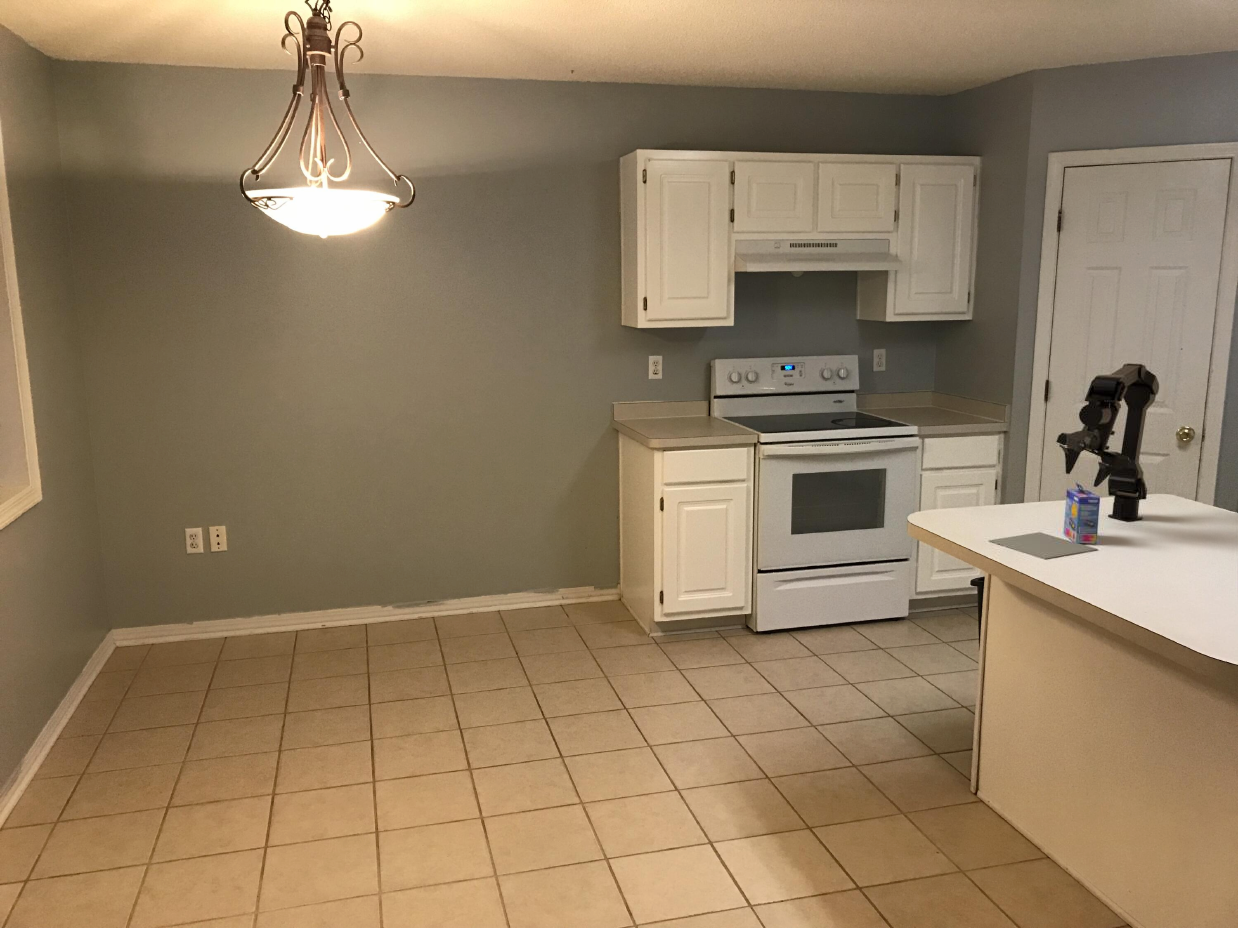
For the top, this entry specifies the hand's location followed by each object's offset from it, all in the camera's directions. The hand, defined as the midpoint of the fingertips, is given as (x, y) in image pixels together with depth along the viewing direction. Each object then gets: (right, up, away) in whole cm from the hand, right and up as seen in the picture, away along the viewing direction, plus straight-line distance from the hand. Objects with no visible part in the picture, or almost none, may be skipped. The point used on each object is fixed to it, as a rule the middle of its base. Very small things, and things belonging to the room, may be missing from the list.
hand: (1081, 480), depth 259 cm
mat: (-15, -16, -10) cm, 24 cm away
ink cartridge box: (-3, -15, -5) cm, 16 cm away
